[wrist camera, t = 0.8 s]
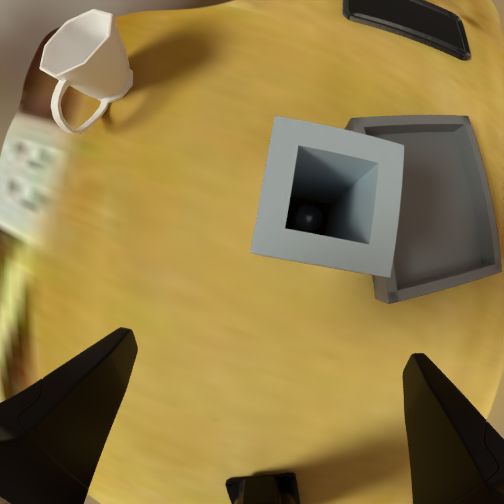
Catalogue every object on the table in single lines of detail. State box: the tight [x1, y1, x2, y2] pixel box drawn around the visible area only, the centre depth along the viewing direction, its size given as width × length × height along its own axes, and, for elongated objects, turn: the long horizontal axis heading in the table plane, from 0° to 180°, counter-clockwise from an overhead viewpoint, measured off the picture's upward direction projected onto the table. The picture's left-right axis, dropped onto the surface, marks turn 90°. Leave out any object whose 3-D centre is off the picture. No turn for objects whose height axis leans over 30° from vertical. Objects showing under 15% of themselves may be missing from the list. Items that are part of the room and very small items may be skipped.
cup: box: [40, 9, 133, 134], centre depth 20 cm, size 7×10×8 cm
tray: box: [345, 115, 502, 304], centre depth 22 cm, size 14×12×3 cm
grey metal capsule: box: [292, 204, 322, 233], centre depth 22 cm, size 2×2×3 cm
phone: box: [343, 0, 470, 60], centre depth 23 cm, size 8×1×15 cm
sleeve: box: [250, 116, 404, 278], centre depth 18 cm, size 8×6×11 cm
